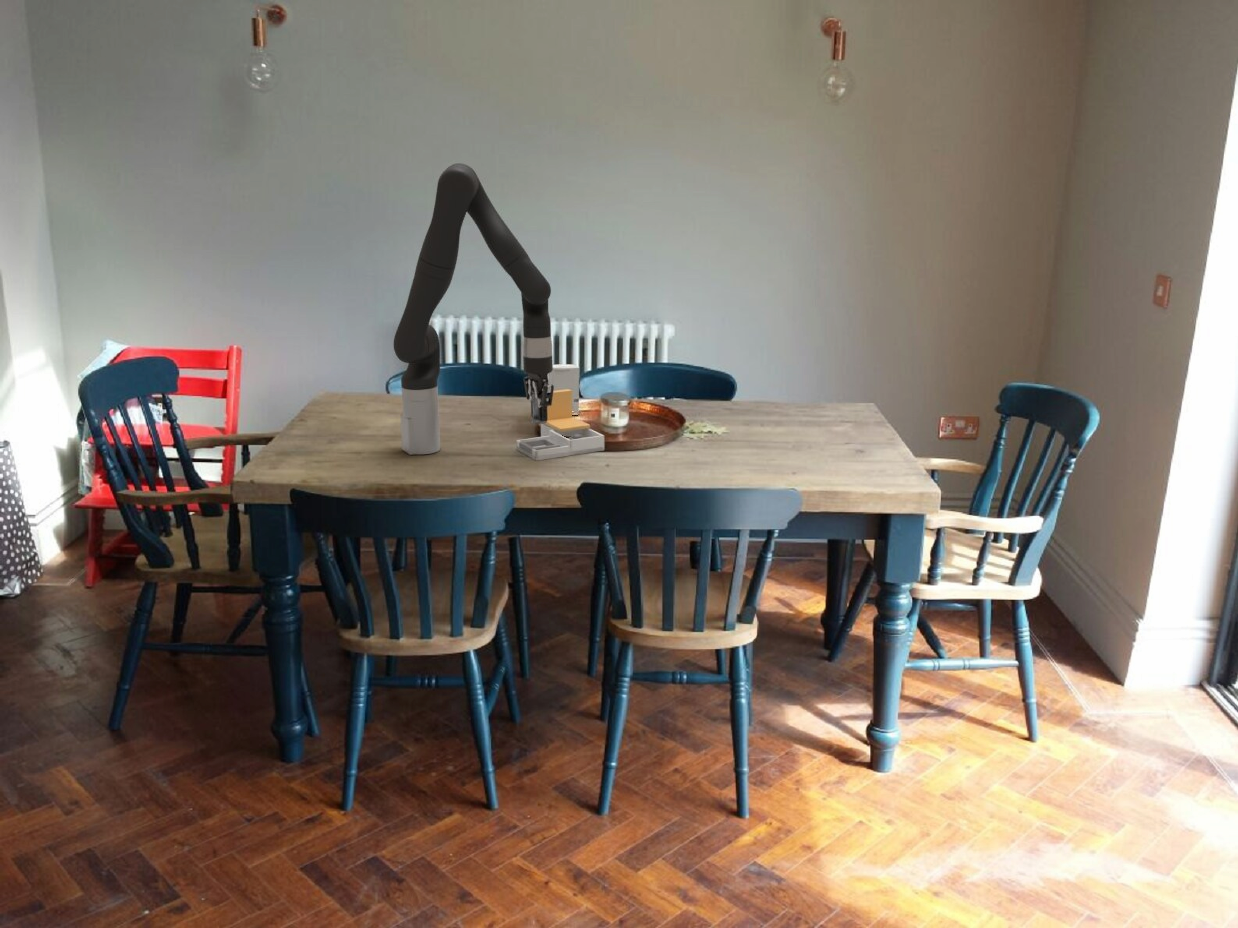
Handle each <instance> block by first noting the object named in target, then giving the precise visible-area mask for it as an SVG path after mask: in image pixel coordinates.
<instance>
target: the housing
mask: <svg viewBox="0 0 1238 928" xmlns="http://www.w3.org/2000/svg"><path fill="white" fill-rule="evenodd" d="M562 435H563V436H562ZM564 436H571V437H569V438H566V437H564ZM515 449H516V450H517V451H518V452H520V453H522V454H523V455H525V456H526V457H529V458H530V459H532V460H534V461H542V460H549V459H554V458H556V459H557V458H561V457H562V458H563V457H567V456H568V457H569V456H570V457H571V456H576V455H582V454H588V453H590V454H591V453H595V452H601V451H602V452H603V451H605V435H604V434H602V433H600V432H598V431H595V430H593V429H592V428H585V429H578V430H571V431H563V432H560V431H558V430H556V429H554V428H552V427H550V426H548V425H546V424H544V423H543V424H540V436H538V437H537V436H536V437H531V438H523V439H516V440H515Z"/></svg>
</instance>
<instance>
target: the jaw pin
mask: <svg viewBox="0 0 1238 928" xmlns="http://www.w3.org/2000/svg"><path fill="white" fill-rule="evenodd" d="M539 395H542V394H539ZM541 400H542V398H541ZM532 401H533V417H531V424H532V423H533V424H535V425H536V424H540V425H541V424H543V423H547V421H543V422H541V421H539V413H538V407H539V406H538V400H537V399H536V398H535V393H532Z"/></svg>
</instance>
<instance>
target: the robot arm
mask: <svg viewBox="0 0 1238 928" xmlns="http://www.w3.org/2000/svg"><path fill="white" fill-rule="evenodd" d="M466 214H468V215H469V216H470V218H471V219H472V221H473V222H474V224H475V225H476V227H477V229H478V230H479V232H480V235H481V236H482V239H483V240H484V242H485V244H486V246H487V247H488V249H489V251H490V252H491V254H492V255H493V257H494V258H495V259H496V261H497V262H498V263H499V265H500V266H501V267H502V269H503V270H504V271H505V273H507V275H508V276H510V277H511V280H512V281H513V282H514V284H515V285H516V287H517V288H518V290H519V292H520V293H521V294H520V296H521V305H522V313H523V314H522V315H523V316H522V317H523V319H522V333H523V335H522V336H523V337H522V367H523V372H524V373H525V374H528V376H523V385H524V391H525V396H526V400H527V401H529V404H530V413H531V414H530V415H531V418H532V417H533V401H532V393H535V398H536V399H537V400H538V406H539V407H538V413H539V421H541V422H543V421H547V419H548V417H547V407H548V406H551V405H552V398H553V390H554V386H553V385H549V383H548V380H549V373H551V372H552V371H553V365H554V364H553V341H552V330H551V327H552V326H551V325H552V323H551V317H550V316H551V315H550V314H549V299H550V297H551V294H552V292H551V291H552V289H551V288H552V287H551V285H550V283H549V281H548V280H547V279H546V277H545V276H544V275H543V274H542V272H541V271H540V270H539V269H538V267H537V266H536V264H534V262H532V260H531V258H530V256H529V254H528V252H526V250H525V248H524V247H523V245H522V244H521V243H520V241H519V240H518V239H517V237H516V236H515V235H514V234H513V232H512V231H511V230H510V228H509V227H508V225H507V224H506V223H505V221H504V220H503V218H502V217H501V216H500V214H499V212H498V211H497V209H496V208H495V206H494V205H493V203H492V202H491V200H490V198H489V196H488V195H487V192H486V191H485V189H484V187H483V185H482V182H481V181H480V178H479V176H478V175H477V173H476V171H475V170H474V169H473V167H471V166H469V165H468V164H465V163H463V162H461V163H459V162H457V163H453V164H451V165H449V166H448V167H447V168H446V169H445V170H444V171H443V172H442V173H441V174H440V176H439V178H438V181H437V186H436V194H435V200H434V206H433V212H432V217H431V221H430V223H429V226H428V229H427V230H426V231H427V232H426V234H425V237H424V239H423V243H422V245H421V249H420V251H419V256H418V259H417V262H416V265H415V271H414V275H413V279H412V281H411V282H412V283H411V287H410V290H409V292H408V298H407V301H406V305H405V308H404V311H403V313H402V316H401V318H400V322H399V324H398V326H397V329H396V331H395V333H394V338H393V350H394V353H395V354H394V355H396V358H397V359H399V361H401V362H402V363H406V364H408V366H407V368H406V370H405V371H404V373H402V375H401V378H400V384H401V386H400V387H401V402H402V403H401V405H402V414H400V433H401V448H402V450H403V451H404V452H405V453H407V454H408V455H430V454H435V453H438V452H439V451H440V450H441V435H440V416H439V415H440V412H439V411H440V410H439V409H440V408H439V393H438V392H439V391H438V389H439V388H438V379H439V376H440V372H441V343H440V338H439V334H438V332H437V330H436V329H435V328H434V327H433V326H432V325H430V320H431V318H432V316H433V314H434V312H435V310H436V309H437V307H438V306H439V304H440V302H441V300H442V299H443V298H444V296H445V294H446V293H447V291H448V289H449V288H450V285H451V282H452V280H453V277H454V273H455V269H456V266H457V261H458V256H459V249H460V239H461V238H460V237H461V235H460V234H461V230H462V227H463V223H464V220H465V218H466ZM539 394H542V395H539ZM541 398H542V400H541ZM548 398H549V399H548Z"/></svg>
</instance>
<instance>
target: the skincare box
mask: <svg viewBox="0 0 1238 928" xmlns="http://www.w3.org/2000/svg"><path fill="white" fill-rule="evenodd" d="M548 383H549V385H553V386H554V390H553V391H557V390H565V389H569V390H572V411H574V412H575V413H577V414H579V409H580V406H579V405H580V403H579V402H580V366H578V365H577V364H573V363H571V364H564V363H562V364H553V371H552V372H551V373H548Z"/></svg>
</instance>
